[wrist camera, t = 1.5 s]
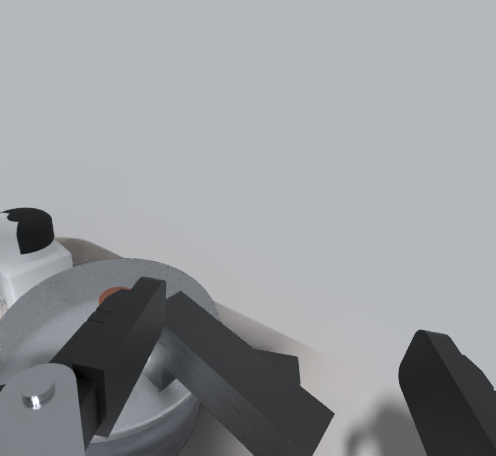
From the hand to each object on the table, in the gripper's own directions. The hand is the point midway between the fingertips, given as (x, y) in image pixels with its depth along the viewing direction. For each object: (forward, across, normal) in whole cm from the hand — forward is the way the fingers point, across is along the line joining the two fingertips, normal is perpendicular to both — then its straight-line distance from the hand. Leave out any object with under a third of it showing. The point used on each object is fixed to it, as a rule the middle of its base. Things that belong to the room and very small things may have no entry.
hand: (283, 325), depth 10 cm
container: (+26, +32, +25) cm, 48 cm away
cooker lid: (+11, +9, +17) cm, 22 cm away
